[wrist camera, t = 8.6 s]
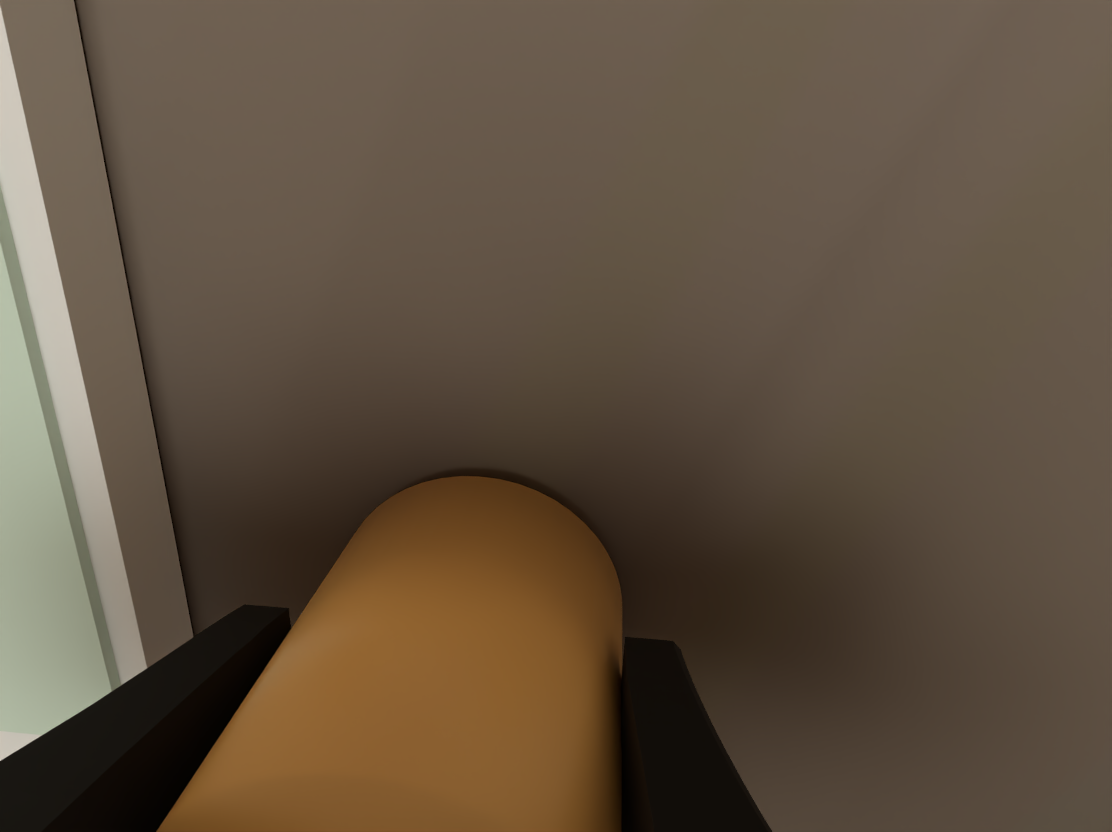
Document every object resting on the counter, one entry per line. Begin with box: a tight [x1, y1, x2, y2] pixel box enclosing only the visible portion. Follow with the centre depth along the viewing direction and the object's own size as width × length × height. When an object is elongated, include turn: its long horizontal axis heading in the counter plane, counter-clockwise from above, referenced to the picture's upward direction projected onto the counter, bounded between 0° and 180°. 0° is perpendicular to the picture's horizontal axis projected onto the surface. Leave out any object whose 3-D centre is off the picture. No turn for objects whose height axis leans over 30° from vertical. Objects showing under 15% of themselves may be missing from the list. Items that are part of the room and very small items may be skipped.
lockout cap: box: [156, 476, 622, 832], centre depth 8 cm, size 4×4×6 cm
